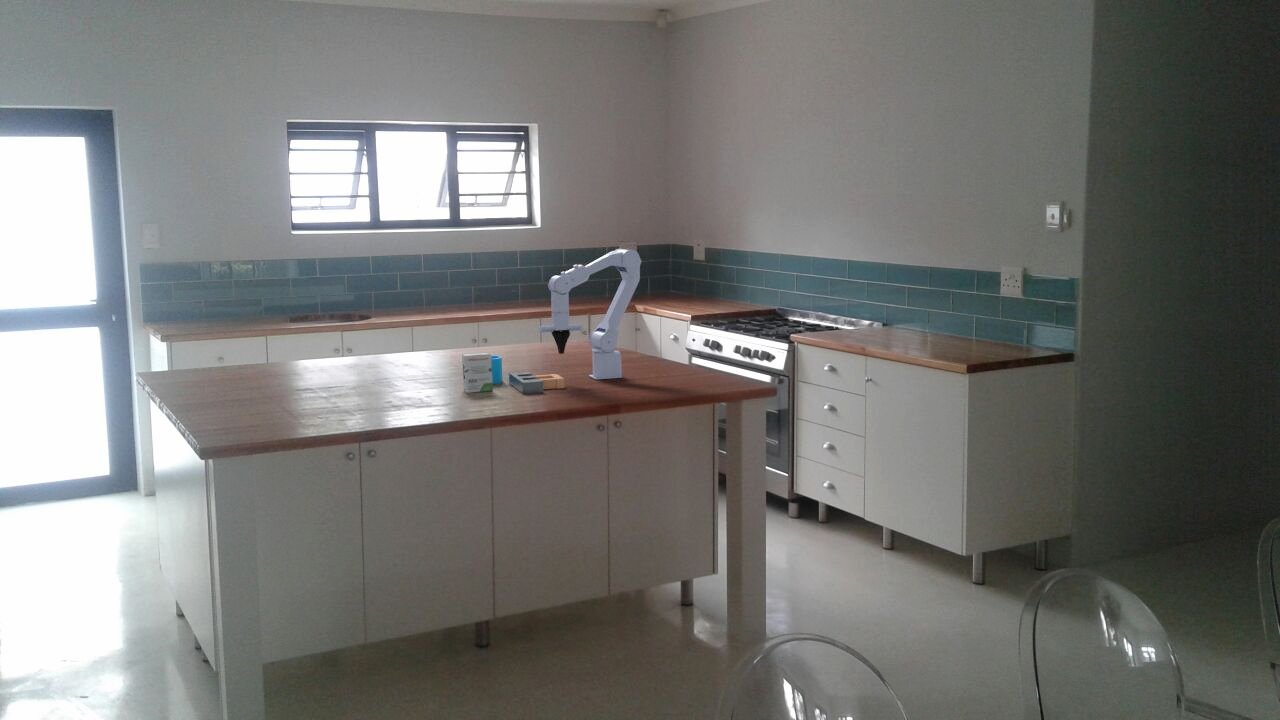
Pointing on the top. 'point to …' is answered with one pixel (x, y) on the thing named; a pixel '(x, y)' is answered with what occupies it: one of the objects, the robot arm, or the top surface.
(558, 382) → the clip
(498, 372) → the blue cylinder
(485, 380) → the ink box
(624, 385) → the top surface
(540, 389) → the grey hollow block
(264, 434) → the top surface
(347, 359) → the top surface
